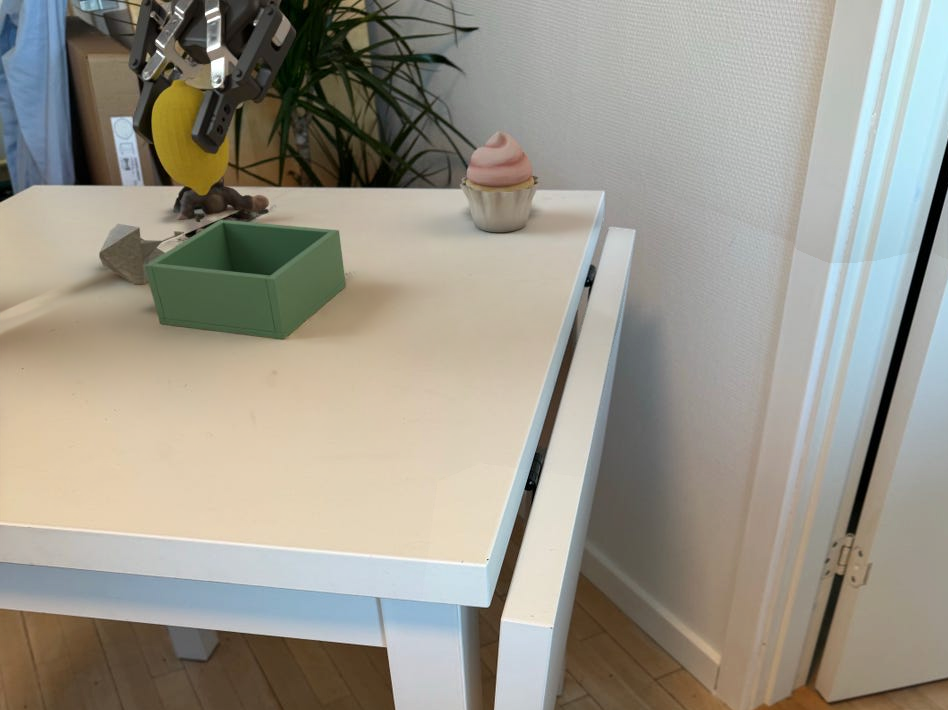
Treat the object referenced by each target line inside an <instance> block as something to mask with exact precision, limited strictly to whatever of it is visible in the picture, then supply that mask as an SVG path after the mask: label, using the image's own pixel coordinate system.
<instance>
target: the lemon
mask: <svg viewBox="0 0 948 710" xmlns="http://www.w3.org/2000/svg"><path fill="white" fill-rule="evenodd" d="M204 95H205V92H204V91H202V90H201V89H199V88H198V87H196V86H193V85H190V84H188V83H186V81H185V82H184V81H183V80H174V81H173V83H172V85H171V86H170V87H168V88H167V89H165V90H164V91H163V92H162V93H161V94H160V95H159V97H158V98H157V100H156V102H155V104H154V107H153V110H152V134H153V140H154V144H153V145H154V148H155V151H156V155H157V157H158V159H159V162H160V163H161V165H162V167H163V169H164V170H165V172H166V173H167V174H168V175H169V176H170V177H171V178H172V180H174V181H175V182H176V183H178V184H180V185H182V186H183V187H184V186H187V187H190V188H192V189H193V190H194V191H195V192H196V193H198V194H199V195H206V194H207V193H208V191H209V190H210V188H211V186H212V185H213V184H215V183H216V182H218V181H219V180H220V179H221V177H222V176H224V174H225V173H226V170H227V168H228V166H229V160H230V145H229V137H228V134H227V135H226V138H225V141H224V142H223V143H222V145H221V146H220V147H219V150H218V152H217V153H216V154H211V153H206V152H205V151H204V150H202V149H201V148H200V147H199V146H198V145H197V144H196V143H195V142H194V141H193V140H192V137H191V133H192V129H193V127H194V124H195V121H196V118H197V115H198V112H199V109H200V106H201V104H202V101H203V98H204Z"/></svg>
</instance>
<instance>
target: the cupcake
mask: <svg viewBox="0 0 948 710" xmlns="http://www.w3.org/2000/svg"><path fill="white" fill-rule="evenodd" d="M539 180H540V176H538V175H533V165H532V162H531V159H530V158H529V156H528V155H527V154H526V153H525V152H524V151H523V149H522V147H521V145H520V143H518V141H517V140H516V139H514V137H512V136H511V135H510V134H508V133H506V132H504V131H501V130H498V131H496V132H495V133H494V134H493V135H492V136H491V137H490V138H489V139H488V140H487V141H486V143H485V144H484V145H483V146H480V147H477V149H475V150H474V152H473V153H472V155H471V158H470V162H469V164H468V167H467V170H466V176H465V177H463V178H461V181H462V182H461V183H460V184H459V187H460V188H461V190H462V192H463V194H464V197H466V199H467V202H468V206H469V210H470V214H471V218H472V222H473V224H474V226H475V228H477V229H479V230H481V231H484V232H490V233H508V232H509V233H510V232H514V231H517V230H521V229H523V228H524V227H525V226H527V223H528V221H529V217H530V212H531V209H532V208H531V207H532V203H533V199H534V197H535V194H536V193H537V190H538V188H539V186H540V184H541V183H540V182H539Z"/></svg>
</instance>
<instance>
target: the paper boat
mask: <svg viewBox="0 0 948 710" xmlns="http://www.w3.org/2000/svg"><path fill="white" fill-rule="evenodd" d="M173 234H174V235H172V236H170V237H167V238H165V239H163V240H154V239H153V240H150V239H149V240H147V239H146V240H145V239H143V238H142V237H141V229H140V227H139V226H135V225H128V224H123V223H117V224H115V226H113V227H112V228H111V229H110V230H109V232H108V234H107V236H106V238H105V240H104V242H103V245H102V247H101V249H100V251H99V253H98V256H99V259H100V262H101V264H102V265H103V267H105V268H107V269H109V270H110V271H111V272H113V273H115V274H117V275H118V276H120V277H121V278H123V279H125V280H126V281H128V282H129V283H131V284H132V285H135V286H136V285H145V284H146V283H149V281H148V277H147V273H146V270H145V265H146V264H148V263H149V262H151V261H153V260H154V259H156V258H158V257H159V256H161V255H163V254H164V253H165V252H164V251H163V250H161V249H159V248H158V247H159V246H160V245H161V244H162V243H164V242H166V241H168V240H170V239H173V238H177V237H179V236H181V235H184V234H185V231H177V230H176V231H175V230H174V231H173Z"/></svg>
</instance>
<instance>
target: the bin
mask: <svg viewBox="0 0 948 710" xmlns="http://www.w3.org/2000/svg"><path fill="white" fill-rule="evenodd" d="M218 220H219V219H218ZM216 221H217V220H216ZM342 251H343V250H342V242H341V236H340V230H339V229H329V228H317V227H306V226H296V225H285V224H273V223H263V222H251V221H246V222H242V221H230V220H219V221H217V222H216V223H214V224H212V225H211V226H209V227H207V228H206V229H204V230H202V231H201V232H199V233H197V234H196V235H194V236H192V237H191V238H187V239H186V240H184V241H183V242H181V243H179V244H178V245H176V246H174V247H172V248H171V249H169V250H167V251H165V252H164V254H163V255H161V256H159V257H158V258H156V259H154V260H153V261H151V262H149V263H148V264H146V265H145V270H146V273H147V277H148V285H149V288H150V291H151V292H150V293H151V295H152V299H153V303H154V306H155V310H156V315H157V317H158V321H159V324H160V325H167V326H173V327H174V326H175V327H184V328H190V329H199V330H209V331H214V332H215V331H216V332H221V333H222V332H224V333H230V334H239V335H247V336H254V337H262V338H270V339H276V340H277V339H278V340H286V338H289V336H290V335H291V334H292V333H294V332H295V331H296V330H297V329H298V328H299V327H301V326H302V325H303V324H304V323H305V322H307V320H308V319H310V318H311V317H312V316H313V315H314V314H315V313H317V312H318V311H319V310H320V309H322V307H324V306H325V305H326V304H327V303H328V302H330V301H331V300H332V299H333V298H334V297H335V296H337V295H338V294H339V293H340V292H341V291H343V289H345V288H346V286H347V283H346V275H345V267H344V260H343V252H342Z"/></svg>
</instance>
